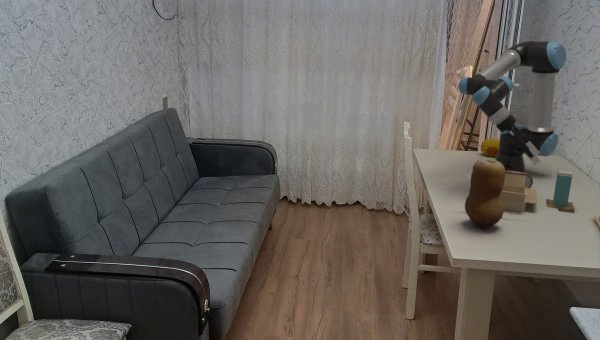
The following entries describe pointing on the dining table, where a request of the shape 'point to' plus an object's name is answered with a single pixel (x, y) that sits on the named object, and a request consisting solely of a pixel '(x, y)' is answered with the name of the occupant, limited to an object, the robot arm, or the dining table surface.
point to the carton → (517, 193)
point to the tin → (528, 177)
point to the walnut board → (565, 209)
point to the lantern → (490, 147)
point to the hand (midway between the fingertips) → (537, 158)
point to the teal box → (562, 188)
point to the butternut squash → (485, 193)
